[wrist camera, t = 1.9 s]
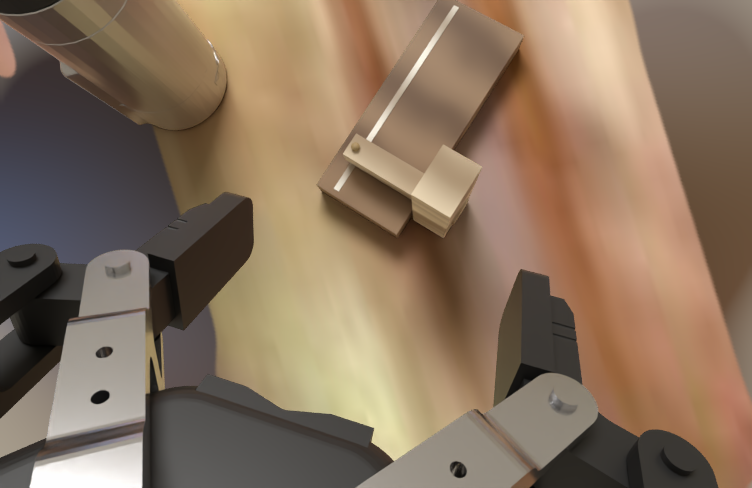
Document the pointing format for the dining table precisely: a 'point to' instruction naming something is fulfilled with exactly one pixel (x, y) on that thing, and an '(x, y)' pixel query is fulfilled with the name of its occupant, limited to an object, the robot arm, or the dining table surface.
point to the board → (424, 106)
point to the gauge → (421, 181)
